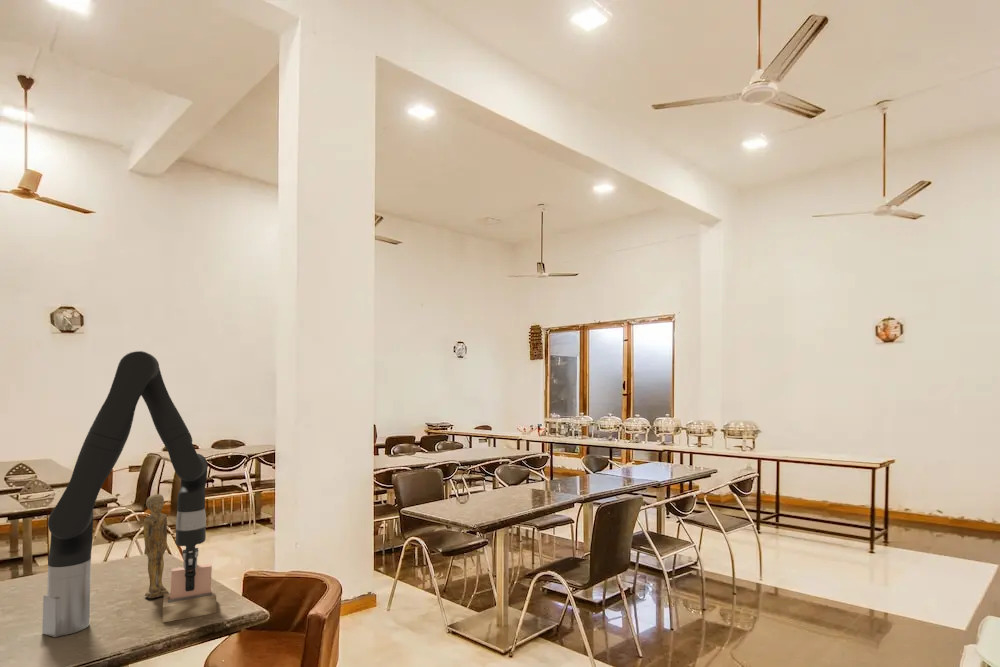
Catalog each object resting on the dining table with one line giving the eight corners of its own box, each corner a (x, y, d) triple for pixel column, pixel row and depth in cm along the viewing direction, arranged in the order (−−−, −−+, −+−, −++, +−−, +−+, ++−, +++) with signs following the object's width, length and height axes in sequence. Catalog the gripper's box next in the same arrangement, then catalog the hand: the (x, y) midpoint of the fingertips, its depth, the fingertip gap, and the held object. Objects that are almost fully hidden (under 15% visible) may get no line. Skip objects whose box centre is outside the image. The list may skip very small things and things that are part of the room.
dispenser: (162, 622, 162) (162, 604, 162) (163, 608, 171) (164, 591, 172) (216, 612, 168) (216, 595, 168) (214, 599, 177) (214, 583, 178)
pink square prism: (170, 606, 166) (171, 571, 167) (170, 603, 169) (171, 568, 170) (210, 600, 171) (211, 566, 171) (210, 597, 173) (211, 563, 174)
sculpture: (148, 601, 177) (150, 497, 179) (138, 597, 181) (140, 495, 183) (172, 594, 182) (174, 493, 184) (162, 590, 186) (164, 491, 188)
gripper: (206, 529, 167) (205, 594, 165) (205, 519, 179) (204, 579, 178) (175, 533, 163) (174, 599, 162) (176, 522, 176) (175, 583, 174)
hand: (189, 588), depth 170 cm, fingers closed on pink square prism, 2 cm apart
